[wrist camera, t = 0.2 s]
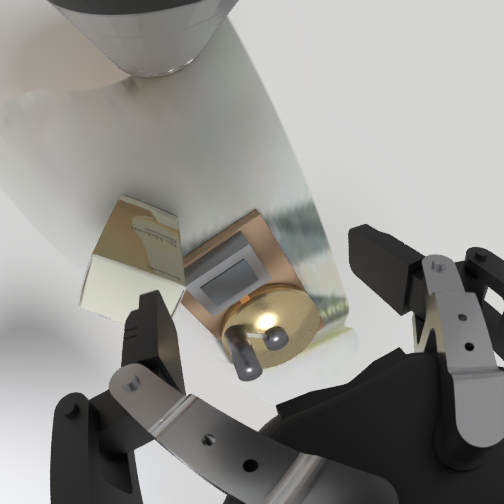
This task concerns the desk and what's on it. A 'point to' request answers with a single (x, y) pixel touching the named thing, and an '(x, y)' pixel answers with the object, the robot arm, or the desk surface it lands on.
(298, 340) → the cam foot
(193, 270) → the tan piece
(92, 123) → the desk surface
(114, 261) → the skincare box
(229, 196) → the desk surface
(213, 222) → the desk surface
